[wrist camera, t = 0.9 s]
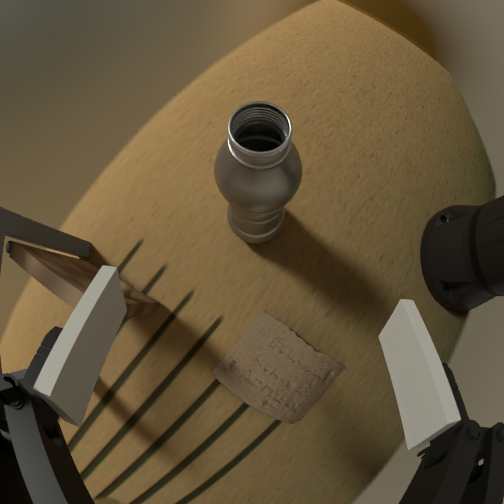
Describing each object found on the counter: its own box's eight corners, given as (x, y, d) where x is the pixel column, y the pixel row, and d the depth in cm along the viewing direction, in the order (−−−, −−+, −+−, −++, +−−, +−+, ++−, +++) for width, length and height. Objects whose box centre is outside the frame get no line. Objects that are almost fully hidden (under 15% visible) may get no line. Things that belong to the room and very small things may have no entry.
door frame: (90, 242, 34) (-5, 204, 16) (84, 372, 31) (-7, 407, 13) (79, 241, 34) (-15, 205, 16) (73, 369, 31) (-18, 399, 13)
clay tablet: (348, 367, 32) (355, 372, 29) (299, 428, 31) (303, 437, 28) (254, 303, 33) (255, 303, 31) (205, 368, 32) (202, 374, 29)
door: (76, 267, 33) (4, 251, 19) (83, 249, 33) (13, 225, 19) (154, 313, 32) (94, 322, 18) (163, 293, 32) (106, 289, 18)
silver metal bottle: (279, 191, 35) (306, 81, 15) (285, 245, 34) (328, 177, 14) (227, 195, 35) (201, 87, 15) (230, 249, 34) (201, 186, 14)
